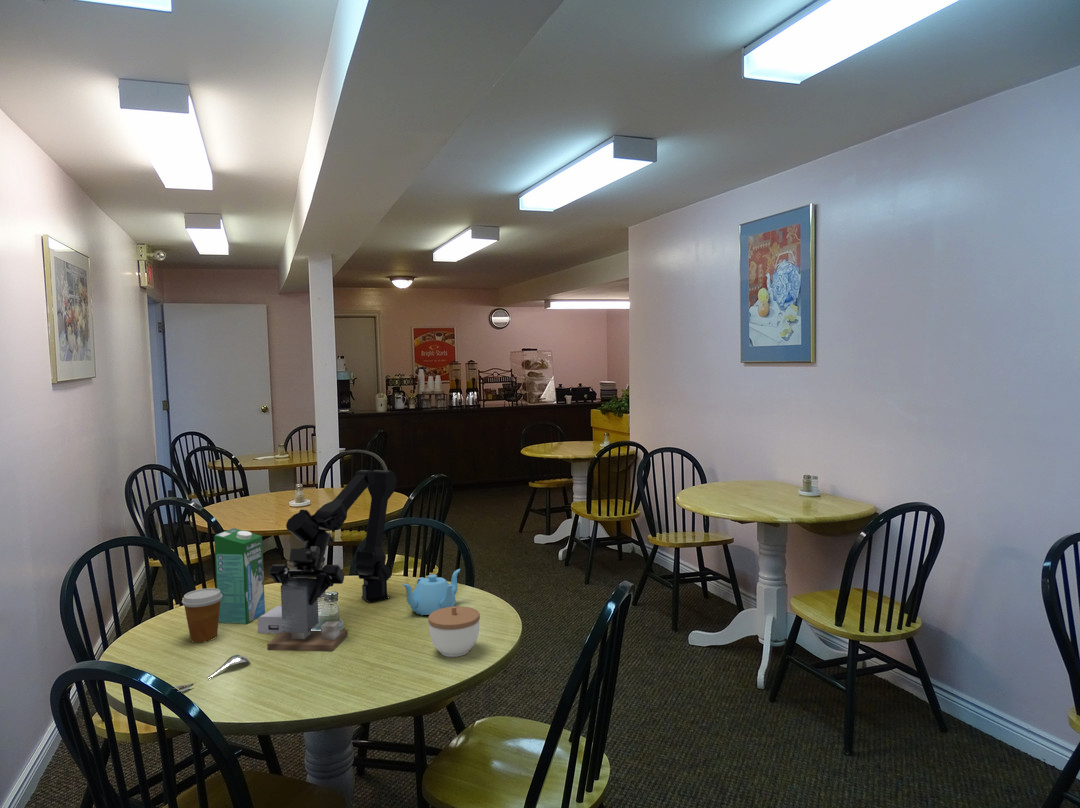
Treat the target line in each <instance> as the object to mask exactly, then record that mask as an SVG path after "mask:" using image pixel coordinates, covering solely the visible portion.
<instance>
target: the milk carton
mask: <svg viewBox="0 0 1080 808" xmlns="http://www.w3.org/2000/svg"><path fill="white" fill-rule="evenodd" d="M213 537H214V538H213V540H214V541H213V542H214V559H215V560H214V561H215V563H214V564H215V584H216V586H215V587H216V588H215V589H219V590H220V592H221V594H222V598H221V601H220V612H219V622H220V623H219V624H236V623H240V624H241V625H248V624H249V623H251V622H253V621H254V620H256V619H258V618H259V617H261V616H262V615H264V614H265V613H266V604H265V602H266V601H265V577H264V576H265V575H264V553H263V550H264V549H263V536H262V535H260V534H255V533H254V532H253V533H252V532H251V531H247V530H242V529H239V528H235V527H232V528H229V529H227V530H225V531H222V532H220V533H218V534H217V533H216V534H215V535H214V536H213ZM252 620H253V621H252ZM247 623H248V624H247Z"/></svg>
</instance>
